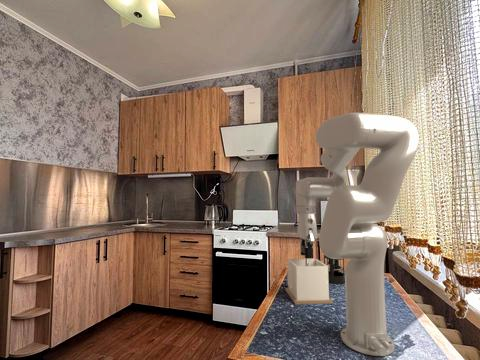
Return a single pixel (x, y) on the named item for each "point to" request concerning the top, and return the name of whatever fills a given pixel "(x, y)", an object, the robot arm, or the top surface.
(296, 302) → the white open box
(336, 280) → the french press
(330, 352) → the top surface
